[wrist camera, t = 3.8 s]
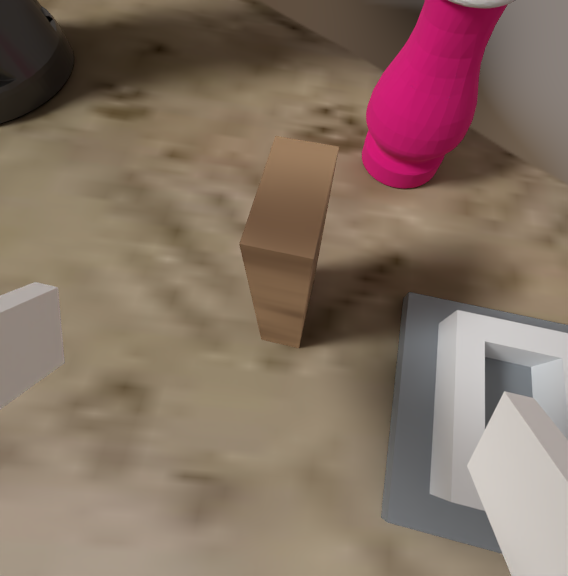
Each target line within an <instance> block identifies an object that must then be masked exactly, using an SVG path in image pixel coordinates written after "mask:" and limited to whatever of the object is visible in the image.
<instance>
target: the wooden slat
mask: <svg viewBox="0 0 568 576" xmlns="http://www.w3.org/2000/svg"><path fill="white" fill-rule="evenodd" d="M338 149H339V147H337V146H331V145H326V144H320V143H314V142H308V141H302V140H297V139H291V138H285V137H279V136H275V139H274V142H273V145H272V148H271V151H270V154H269V157H268V160H267V163H266V166H265V169H264V172H263V175H262V178H261V181H260V184H259V187H258V190H257V193H256V196H255V199H254V202H253V205H252V208H251V211H250V214H249V217H248V220H247V223H246V226H245V229H244V232H243V235H242V238H241V241H240V249H241V253H242V257H243V261H244V266H245V270H246V274H247V279H248V283H249V287H250V292H251V296H252V300H253V305H254V309H255V313H256V318H257V322H258V326H259V331H260V335H261V339H262V340H266V341H270V342H274V343H279V344H283V345H287V346H292V347H296V348H299V346H300V341H301V336H302V332H303V327H304V323H305V318H306V314H307V309H308V305H309V300H310V296H311V291H312V287H313V282H314V277H315V272H316V266H317V261H318V256H319V250H320V245H321V240H322V235H323V229H324V224H325V219H326V213H327V208H328V203H329V197H330V192H331V187H332V181H333V176H334V171H335V165H336V160H337V155H338Z"/></svg>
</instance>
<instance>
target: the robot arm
mask: <svg viewBox="0 0 568 576" xmlns="http://www.w3.org/2000/svg"><path fill="white" fill-rule="evenodd" d="M73 63H74V55H73V51H72V48H71V46H70V44H69V42H68V40H67V39H66V37H65V35H64V33H63V31H62V29H61V28H60V26H59V24H58V23H57V21H56V20H55V19H54V17H53V16H52V15H51V14H50V13H49V12H48V11H47V10H46V9H45V8H43V7H42V6H41V5H40V4H39V2H38V1H37V0H0V123H3V122H6V121H9V120H12V119H15V118H17V117H20V116H22V115H24V114H26V113H28V112H30V111H32V110H34V109H36V108H37V107H39V106H40V105H42V104H43V103H45V102H46V101H47V100H49V99H50V98H51V97H52V96H54V95H55V94H56V93H57V92H58V91H59V90H60V89H61V87H62V86H63V85H64V84H65V82H66V81H67V79H68V77H69V76H70V73H71V71H72V68H73ZM64 363H65V361H64V350H63V338H62V327H61V316H60V304H59V293H58V287H55V286H50V285H46V284H42V283H37V282H34V283H31V284H29V285H26V286H24V287H21V288H19V289H16V290H13V291H11V292H8V293H6V294H3V295H1V296H0V409H1V408H3V407H4V406H6V405H7V404H8V403H10V402H11V401H13V400H14V399H15V398H17V397H18V396H19V395H21V394H22V393H24V392H25V391H26V390H28V389H29V388H31V387H32V386H33V385H35V384H36V383H38V382H39V381H40V380H42V379H43V378H44V377H46V376H47V375H49V374H50V373H51V372H53V371H54V370H56V369H57V368H58V367H60V366H61V365H63V364H64ZM467 467H468V469H469V472H470V474H471V477H472V479H473V482H474V484H475V487H476V489H477V492H478V494H479V497H480V499H481V502H482V504H483V507H484V509H485V511H486V514H487V516H488V519H489V521H490V524H491V526H492V529H493V531H494V534H495V536H496V539H497V541H498V544H499V546H500V549H501V551H502V554H503V556H504V559H505V561H506V564H507V566H508V568H509V571H510V573H511V576H568V440H567V439H566V437H565V436H564V435H563V434H562V432H561V431H560V430H559V429H558V427H557V426H556V425H555V424H554V422H553V421H552V420H551V419H550V417H549V416H548V415H547V414H546V412H545V411H544V410H543V409H542V407H541V406H540V405H539V404H538V402H537V401H536V400H535V399H534V398H531V397H527V396H523V395H518V394H514V393H510V392H506V391H504V393H503V395H502V397H501V399H500V401H499V403H498V405H497V407H496V409H495V411H494V413H493V415H492V417H491V419H490V421H489V423H488V425H487V427H486V429H485V431H484V433H483V435H482V437H481V439H480V441H479V443H478V445H477V447H476V449H475V451H474V453H473V455H472V457H471V459H470V461H469V463H468V465H467Z"/></svg>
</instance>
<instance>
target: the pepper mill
mask: <svg viewBox="0 0 568 576" xmlns="http://www.w3.org/2000/svg"><path fill="white" fill-rule="evenodd" d="M513 1H515V0H425V2H424V5H423V8H422V10H421V13H420V16H419V18H418V21H417V24H416V26H415V28H414V30H413V32H412V33H411V35H410V37H409V39H408V41H407V42H406V44H405V45H404V46H403V48H402V49H401V51H400V52H399V53H398V55H397V56H396V57H395V58H394V60H393V61H392V62H391V64H390V65H389V66H388V67H387V69H386V70H385V71H384V73H383V74H382V76H381V78H380V79H379V81H378V83H377V85H376V86H375V88H374V90H373V92H372V95H371V98H370V101H369V103H368V107H367V112H366V121H367V126H368V129H369V131H368V133H367V136H366V139H365V143H364V147H363V150H362V160H363V164H364V166H365V168H366V170H367V171H368V173H369V174H370V175H371V176H372V177H374V178H375V179H376V180H377V181H379V182H381V183H383V184H385V185H387V186H391V187H395V188H403V189H405V188H414V187H418V186H420V185H423V184H425V183H426V182H428V181H429V180H430V179H431V178H432V177H433V176H434V175H435V173H436V171H437V169H438V168H439V166H440V164H441V162H442V161H443V159H444V156H445V154H446V153H448V152H450V151H451V150H453V149H454V148H455V147H456V146H457V145H458V144H459V143H460V142H461V141H462V140H463V138H464V136H465V135H466V133H467V131H468V129H469V126H470V124H471V122H472V120H473V116H474V112H475V108H476V105H477V94H478V82H479V72H480V64H481V61H482V57H483V54H484V51H485V47H486V45H487V43H488V40H489V38H490V36H491V34H492V31H493V29H494V27H495V25H496V23H497V22H498V20H499V18H500V16H501V15H502V13H503V11H504V10H505V8H506V6H507V5H508V4H510V3H512V2H513Z"/></svg>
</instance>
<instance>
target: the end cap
mask: <svg viewBox="0 0 568 576" xmlns="http://www.w3.org/2000/svg"><path fill="white" fill-rule="evenodd" d="M504 391H506V392H510V393H514V394H518V395H523V396H527V397H531V398H534V399H535V400H536V401H537V402H538V404H539V405H540V406H541V407H542V409H543V410H544V411H545V412H546V414H547V415H548V416H549V417H550V419H551V420H552V421H553V422H554V424H555V425H556V426H557V427H558V429H559V430H560V431H561V432H562V434H563V435H564V436H565V437H566V439H567V440H568V325H565V324H560V323H555V322H551V321H546V320H541V319H536V318H531V317H527V316H522V315H517V314H512V313H508V312H503V311H498V310H493V309H488V308H484V307H479V306H474V305H469V304H465V303H460V302H455V301H450V300H445V299H441V298H436V297H431V296H426V295H422V294H417V293H412V292H409V293H408V294H407V295H406V296H405V297H404V298H403V306H402V316H401V326H400V336H399V346H398V356H397V365H396V375H395V385H394V395H393V405H392V415H391V425H390V434H389V444H388V454H387V464H386V474H385V484H384V493H383V503H382V513H381V518H383V519H384V520H385V521H386V522H388V523H392V524H395V525H399V526H403V527H406V528H410V529H414V530H417V531H421V532H425V533H428V534H432V535H436V536H439V537H443V538H447V539H450V540H454V541H458V542H461V543H465V544H469V545H472V546H476V547H480V548H483V549H487V550H491V551H494V552H498V553H502V551H501V549H500V546H499V544H498V541H497V539H496V536H495V534H494V531H493V529H492V526H491V524H490V521H489V519H488V516H487V514H486V511H485V509H484V507H483V504H482V502H481V499H480V497H479V494H478V492H477V489H476V487H475V484H474V482H473V479H472V477H471V474H470V472H469V469H468V467H467V465H468V463H469V461H470V459H471V457H472V455H473V453H474V451H475V449H476V447H477V445H478V443H479V441H480V439H481V437H482V435H483V433H484V431H485V429H486V427H487V425H488V423H489V421H490V419H491V417H492V415H493V413H494V411H495V409H496V407H497V405H498V403H499V401H500V399H501V397H502V395H503V393H504Z"/></svg>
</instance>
